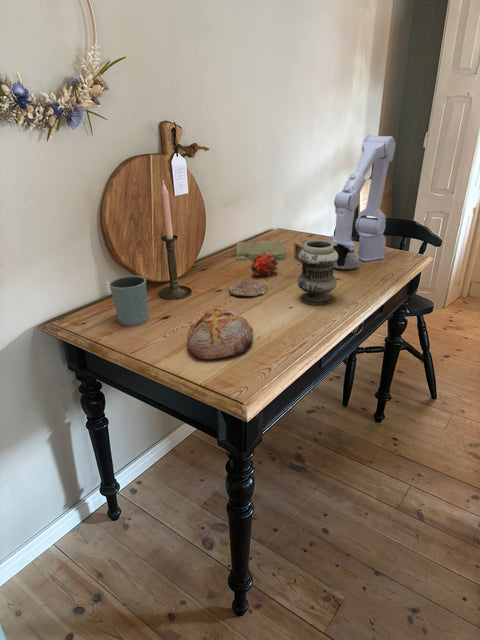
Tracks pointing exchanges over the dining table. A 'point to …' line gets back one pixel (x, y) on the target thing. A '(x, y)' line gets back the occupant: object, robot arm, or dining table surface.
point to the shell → (248, 289)
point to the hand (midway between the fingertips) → (340, 265)
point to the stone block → (349, 262)
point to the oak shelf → (300, 244)
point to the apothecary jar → (317, 271)
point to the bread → (219, 335)
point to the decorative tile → (259, 250)
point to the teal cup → (130, 299)
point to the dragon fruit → (264, 264)
